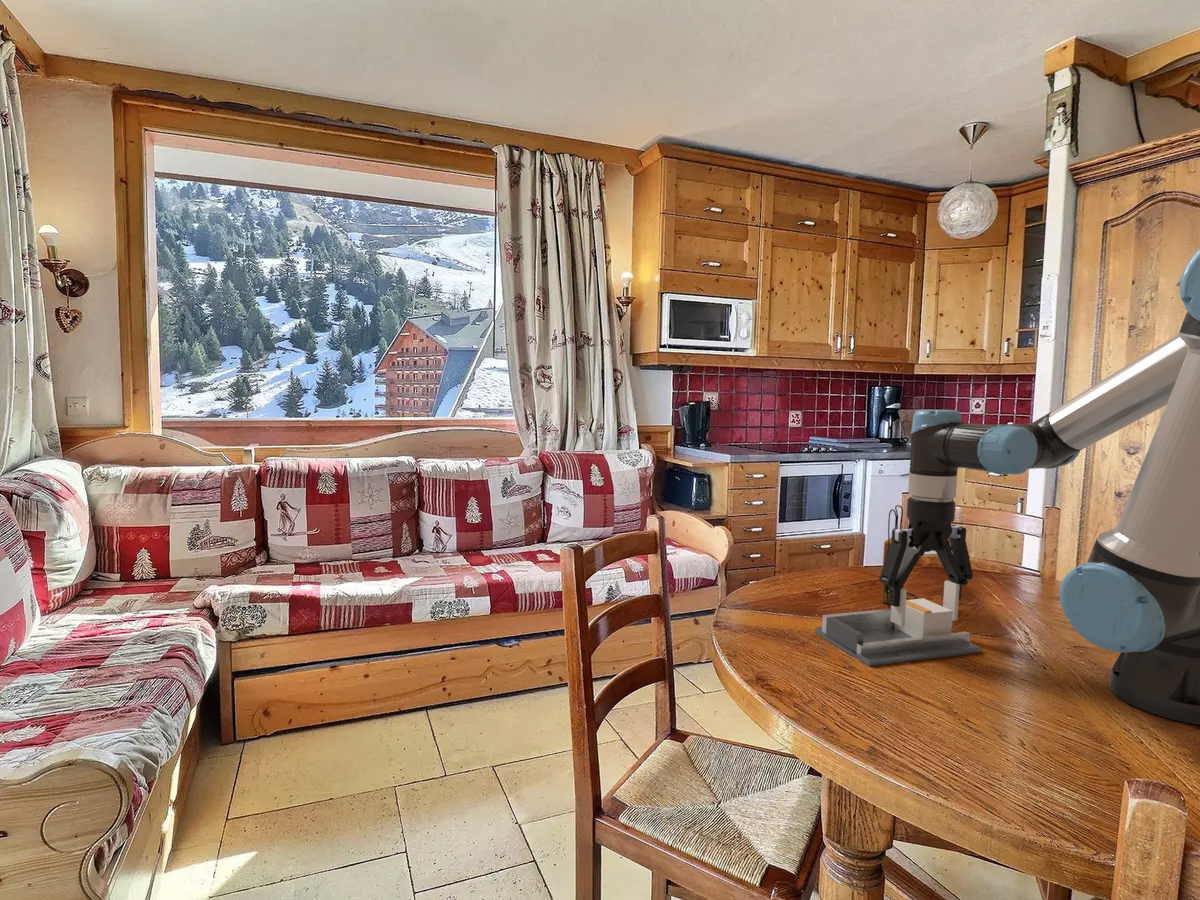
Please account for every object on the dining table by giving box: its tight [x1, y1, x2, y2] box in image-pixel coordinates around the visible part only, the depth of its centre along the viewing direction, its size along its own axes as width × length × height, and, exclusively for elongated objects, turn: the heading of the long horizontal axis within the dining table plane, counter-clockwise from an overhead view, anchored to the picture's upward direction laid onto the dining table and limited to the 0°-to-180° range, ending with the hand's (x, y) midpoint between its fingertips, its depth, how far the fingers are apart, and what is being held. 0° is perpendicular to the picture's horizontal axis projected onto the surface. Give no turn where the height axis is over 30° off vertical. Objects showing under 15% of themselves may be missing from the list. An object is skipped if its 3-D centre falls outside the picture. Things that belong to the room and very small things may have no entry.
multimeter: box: [880, 504, 918, 609], centre depth 138 cm, size 15×10×20 cm
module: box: [895, 598, 953, 637], centre depth 119 cm, size 7×6×5 cm
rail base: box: [814, 608, 981, 667], centre depth 117 cm, size 15×22×4 cm
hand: (923, 620), depth 119 cm, fingers open, 10 cm apart
